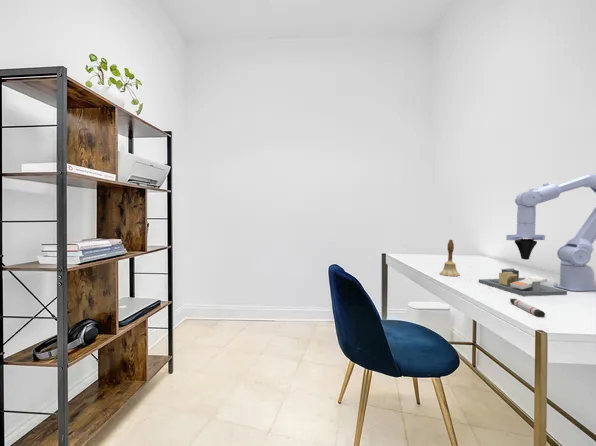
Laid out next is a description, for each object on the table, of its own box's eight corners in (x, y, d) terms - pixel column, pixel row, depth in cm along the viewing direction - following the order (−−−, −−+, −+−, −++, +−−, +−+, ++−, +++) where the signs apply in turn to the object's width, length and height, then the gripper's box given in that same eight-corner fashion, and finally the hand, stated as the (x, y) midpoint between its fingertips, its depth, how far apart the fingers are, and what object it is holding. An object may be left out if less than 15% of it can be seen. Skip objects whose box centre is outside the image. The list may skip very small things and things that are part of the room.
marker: (545, 318, 87) (545, 311, 87) (537, 318, 87) (537, 310, 87) (513, 302, 102) (513, 296, 102) (506, 302, 102) (507, 296, 102)
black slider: (510, 278, 130) (510, 267, 130) (518, 280, 126) (518, 269, 126) (501, 279, 130) (501, 267, 129) (509, 281, 126) (509, 269, 126)
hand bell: (448, 272, 153) (449, 238, 152) (464, 275, 145) (464, 240, 145) (435, 273, 149) (436, 239, 149) (451, 277, 142) (451, 240, 141)
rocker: (534, 278, 117) (534, 275, 116) (547, 281, 111) (547, 278, 111) (510, 286, 115) (509, 282, 115) (522, 289, 110) (521, 286, 110)
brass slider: (508, 283, 122) (508, 270, 122) (517, 285, 118) (517, 272, 118) (498, 283, 122) (499, 271, 122) (507, 285, 118) (507, 273, 118)
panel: (515, 281, 133) (515, 270, 133) (566, 294, 111) (567, 281, 111) (478, 282, 130) (478, 271, 130) (523, 296, 109) (524, 282, 109)
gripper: (534, 223, 128) (533, 257, 128) (500, 223, 126) (499, 257, 126) (550, 223, 121) (549, 260, 121) (515, 223, 119) (514, 260, 119)
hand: (525, 259), depth 123 cm, fingers closed
